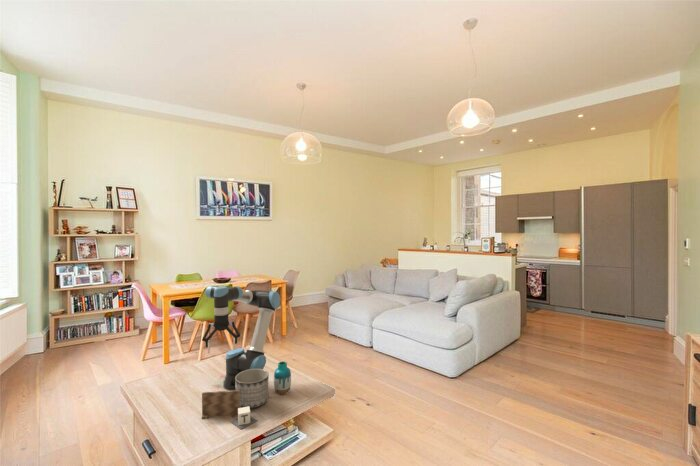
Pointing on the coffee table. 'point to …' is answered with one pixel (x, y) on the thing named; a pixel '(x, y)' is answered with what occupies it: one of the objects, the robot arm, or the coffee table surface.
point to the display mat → (243, 424)
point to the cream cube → (243, 415)
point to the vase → (282, 378)
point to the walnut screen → (220, 403)
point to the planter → (252, 387)
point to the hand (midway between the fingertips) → (221, 350)
